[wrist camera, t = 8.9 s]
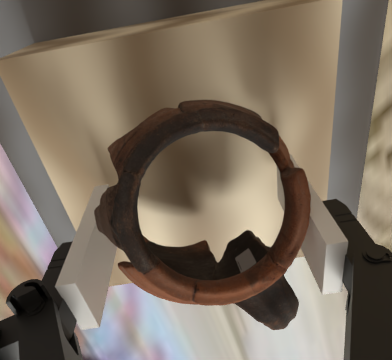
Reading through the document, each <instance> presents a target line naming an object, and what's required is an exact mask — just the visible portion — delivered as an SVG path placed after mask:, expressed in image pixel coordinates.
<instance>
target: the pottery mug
mask: <svg viewBox="0 0 392 360" xmlns="http://www.w3.org/2000/svg"><path fill="white" fill-rule="evenodd" d="M208 131H222V132H229V133H233V134H236V135H238V136H240V137H243V138H245V139H248V140H249V141H251V142H253V143H255V144H256V145H257V146H259V147H260V148H261V149H263V150H265V151H267V152H268V153H269V154H270V156H271V157H272V159H273V160H274V162H275V163H276V165H277V167H278V169H279V171H280V178H281V182H282V186H283V190H284V198H285V209H284V217H283V222H282V226H281V229H280V231H279V233H278V236H277V238H276V240H275V242H274V244H273V245H272V247H269V246H266V245H265V244H264V243H262V241H261V240H260V238H259V237H256V236H255V235H254V234H253V232H252V231H250V230H246V231H244V232H243V233H242V234H241V235H239V236H238V237H237V238H235V239H232V240H231V241H229V242H228V244H227V247H226V249H225V251H224V254H223V256H222V259H221V260H220V261H219V262H217V261H216V259H215V257H214V255H213V253H212V252H211V251H210V248H209V245H208V243H207V241H206V240H203V241H200V242H198V243H195V244H193V245H188V246H184V247H172V246H162V245H159V244H156V243H154V242H152V241H149V240H148V239H147V238H146V237H144V236H143V235H142V232H141V229H140V225H139V219H138V208H137V206H138V196H139V189H140V186H141V180H142V178H143V177H144V175H145V172H146V170H147V169H148V167H149V166H150V164H151V163H152V161H153V160H154V159H155V158H156V156H157V155H158V154H159V153H160V152H161V151H162V150H164V149H165V148H166V147H167V146H168V145H170V144H171V143H173V142H175V141H177V140H179V139H181V138H183V137H185V136H188V135H191V134H196V133H198V132H208ZM108 151H109V153H110V158H111V161H112V163H113V166H114V167H115V170H116V172H117V175H118V183H117V184H116V185H114V186H111V187H108V188H107V190H106V191H105V192H104V193H103V194H102V196H101V198H100V205H99V206H98V207H96V208H95V210H94V215H95V220H96V225H97V228H98V231H99V232H101V233H102V234H104V235H105V236H106V237H107V238H108V239H109V240H110V241H111V242H112V243H113V244H114V245H115V246H116V247H118V248H119V249H121V250H123V251H124V252H125V254H126V256H127V257H128V259H129V260H130V262H128V261H122V262H119V263H118V268H119V269H120V270H121V271H122V272H123V274H124V275H125V276H126V277H127V278H128V279H129V280H130V281H132V282H133V283H134V284H135V285H137V286H138V287H140V288H141V289H143V290H144V291H146V292H148V293H150V294H152V295H154V296H156V297H159V298H162V299H165V300H168V301H172V302H177V303H183V304H199V305H227V304H231V303H234V304H236V305H237V306H239V307H240V308H242V309H243V310H245V311H246V312H247V313H248V314H250V315H251V316H252V317H253V318H254V319H255V320H257V321H258V322H261V323H263V324H264V325H265V326H267V327H269V328H271V329H272V330H279V329H284V328H286V327H287V326H288V324H289V322H290V321H291V320H292V319H294V318H295V316H296V314H297V310H298V306H299V302H298V299H297V297H296V295H295V293H294V291H293V290H292V288H291V287H290V285H289V284H288V282H287V281H286V279H285V277H284V274H285V272H286V271H287V269H288V267H289V266H290V265H291V264H292V262H293V260H294V259H295V257H296V256H297V254H298V252H299V250H300V248H301V246H302V243H303V241H304V239H305V236H306V233H307V229H308V226H309V218H310V212H311V207H310V204H311V194H310V190H309V185H308V180H307V177H306V174H305V171H304V170H303V169H302V168H296V167H294V164H293V162H292V160H291V159H290V154H289V152H288V148H287V146H286V145H285V143H284V142H283V140H282V139H281V137H280V136H279V132H278V130H277V129H276V128H275V127H274V126H273V125H271V124H270V123H267V122H266V121H264V120H262V118H261V116H260V115H259V114H257V113H256V112H254V111H252V110H249V109H247V108H244V107H242V106H238V105H235V104H231V103H228V102H223V101H217V100H189V101H183V102H180V103H179V105H178V108H163V109H160V110H159V111H157V112H155V113H154V114H152V115H151V116H149V117H148V118H147V119H145V120H144V121H143V122H141V123H140V124H139V125H138V126H137V127H135V128H134V129H132V130H131V131H129V132H128V133H127V134H125V135H124V136H123V137H121V138H119V139H117V140H116V141H114V142H113V143H112V144H111V145H110V146H109V147H108Z"/></svg>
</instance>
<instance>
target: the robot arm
mask: <svg viewBox="0 0 392 360" xmlns="http://www.w3.org/2000/svg"><path fill="white" fill-rule="evenodd" d="M290 159H291V160H292V162H293V164H294V167H296V168H300V167H299V166H298V164H297V163H296V161H295V160H294V158H293V157H292V155H291V154H290ZM307 180H308V179H307ZM308 185H309V190H310V194H311V204H310V207H311V212H310V218H309V226H308V229H307V233H306V236H305V239H304V241H303V243H302V246H301V250H302V252H303V254H304V256H305V258H306V261H307V263H308V265H309V267H310V269H311V271H312V273H313V276H314V278H315V280H316V282H317V284H318V286H319V289H320V291H321V293H322V295H323V294H330V293H337V292H342V285H343V283H344V285H345V287H346V289H347V291H348V296H347V303H346V309H345V310H347V312H346V330H345V348H344V360H392V252H391V251H390V250H389V249H387V248H385V247H383V246H381V245H377V244H375V243H374V241H373V240H372V239H371V237H370V236H369V235H368V233H367V232H366V231H365V229H364V228H363V227H362V225H361V224H360V223H359V221H357V219H356V218H355V216H354V215H353V214H352V212H351V211H350V210H349V208H348V207H347V206H346V205H345V204H344V203H342V202H341V201H339V200H337V199H331V200H325V201H321V199H320V198H319V196H318V195H317V193H316V192H315V190H314V189H313V187H312V185H311V184H310V182H309V181H308ZM108 187H109V185H108V184H107V185H101V186H95V187H94V189H93V192H92V194H91V197H90V199H89V202H88V204H87V207H86V209H85V212H84V214H83V217H82V219H81V222H80V224H79V227H78V229H77V232H76V234H75V237H74V239H73V241H72V242H65V243H62V244H61V245H60V246H59V248H58V249H57V250H56V251H55V252H54V255H53V257H52V259H51V262H50V263H49V266H48V270H46V272H45V275H44V277H43V279H42V281H40V280H38V279H31V280H28V281H25V282H23V283H21V284H20V285H18V286H17V287H16V288H14V289H13V290H12V291H11V292H10V294H9V296H8V297H7V300H6V304H7V305H8V307H9V308H10V309H11V311H12V312H13V313H14V314H15V315H13V316H11V317H9V318H6V319H4V320H1V321H0V360H83V358H82V354H81V350H80V346H79V342H78V338H77V336H76V334H75V333H74V329H75V325H76V322H77V323H78V325H79V327H80V328H81V330H84V329H91V328H98V327H100V323H101V318H102V314H103V309H104V305H105V300H106V296H107V291H108V287H109V282H110V278H111V273H112V269H113V264H114V260H115V255H116V251H117V247H116V246H115V245H114V244H113V243H112V242H111V241H110V240H109V239H108V238H107V237H106V236H105V235H104V234H102V233H101V232H99V231H98V228H97V225H96V220H95V215H94V210H95V208H96V207H98V206H99V205H100V198H101V196H102V194H103V193H104V192H105V191H106V190H107V188H108ZM277 198H278V200H279V202H280V205H281V207H282V209H283V211H284V209H285V198H284V190H283V186H282V182H281V178H280V171H279V169H278V167H277Z"/></svg>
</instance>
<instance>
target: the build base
mask: <svg viewBox="0 0 392 360" xmlns="http://www.w3.org/2000/svg"><path fill="white" fill-rule="evenodd" d="M387 7H388V0H0V143H1V145H2V147H3V149H4V151H5V152H6V154H7V156H8V158H9V160H10V162H11V163H12V165H13V167H14V169H15V171H16V173H17V174H18V176H19V178H20V180H21V182H22V183H23V185H24V187H25V189H26V191H27V193H28V194H29V196H30V198H31V200H32V202H33V204H34V205H35V207H36V209H37V211H38V213H39V214H40V216H41V218H42V220H43V222H44V224H45V225H46V227H47V229H48V231H49V233H50V234H51V236H52V238H53V240H54V242H55V244H56V245H57V247H58V248H59V246H60V245H61V244H62V243H65V242H72V241H73V239H74V237H75V234H76V232H77V229H78V227H79V224H80V222H81V219H82V217H83V214H84V212H85V209H86V207H87V204H88V202H89V199H90V197H91V194H92V192H93V189H94V187H95V186H101V185H107V184H108V185H109V187H111V186H114V185H116V184H117V183H118V175H117V172H116V170H115V167H114V166H113V163H112V161H111V158H110V153H109V151H108V147H109V146H110V145H111V144H112V143H113V142H114V141H116V140H117V139H119V138H121V137H123V136H124V135H125V134H127V133H128V132H129V131H131V130H132V129H134V128H135V127H137V126H138V125H139V124H140V123H141V122H143V121H144V120H145V119H147V118H148V117H149V116H151V115H152V114H154V113H155V112H157V111H159V110H160V109H163V108H178V105H179V103H180V102H183V101H189V100H217V101H223V102H228V103H231V104H235V105H238V106H242V107H244V108H247V109H249V110H252V111H254V112H256V113H257V114H259V115H260V116H261V118H262V120H264V121H266V122H267V123H270V124H271V125H273V126H274V127H275V128H276V129H277V130H278V132H279V136H280V137H281V139H282V140H283V142H284V143H285V145H286V146H287V148H288V152H289V154H291V155H292V157H293V158H294V160H295V161H296V163H297V164H298V166H299V167H300V168H302V169H303V170H304V171H305V174H306V177H307V179H308V181H309V182H310V184H311V185H312V187H313V189H314V190H315V192H316V193H317V195H318V196H319V198H320V199H321V201H325V200H331V199H337V200H339V201H341V202H342V203H344V204H345V205H346V206H347V207H348V208H349V210H350V211H351V212H352V214H353V215H354V216H355V218H357V211H358V204H359V198H360V191H361V184H362V177H363V170H364V164H365V157H366V150H367V143H368V136H369V130H370V123H371V116H372V109H373V102H374V95H375V89H376V82H377V75H378V68H379V61H380V55H381V48H382V41H383V34H384V27H385V21H386V14H387ZM137 208H138V219H139V225H140V229H141V232H142V235H143V236H144V237H146V238H147V239H148V240H149V241H152V242H154V243H156V244H159V245H162V246H172V247H184V246H188V245H193V244H195V243H198V242H200V241H203V240H206V241H207V243H208V245H209V248H210V251H211V252H212V253H213V255H214V257H215V259H216V261H217V262H219V261H220V260H221V259H222V256H223V254H224V251H225V249H226V247H227V244H228V242H229V241H231V240H232V239H235V238H237V237H238V236H239V235H241V234H242V233H243V232H244V231H246V230H250V231H252V232H253V234H254V235H255V236H256V237H259V238H260V240H261V241H262V243H264V244H265V245H266V246H269V247H272V245H273V244H274V242H275V240H276V238H277V236H278V233H279V231H280V229H281V226H282V222H283V217H284V211H283V209H282V207H281V205H280V202H279V200H278V198H277V165H276V163H275V162H274V160H273V159H272V157H271V156H270V154H269V153H268V152H267V151H265V150H263V149H261V148H260V147H259V146H257V145H256V144H255V143H253V142H251V141H249V140H248V139H245V138H243V137H240V136H238V135H236V134H233V133H229V132H222V131H208V132H198V133H196V134H191V135H188V136H185V137H183V138H181V139H179V140H177V141H175V142H173V143H171V144H170V145H168V146H167V147H166V148H165V149H164V150H162V151H161V152H160V153H159V154H158V155H157V156H156V158H155V159H154V160H153V161H152V163H151V164H150V166H149V167H148V169H147V170H146V172H145V175H144V177H143V178H142V180H141V186H140V189H139V196H138V206H137ZM297 257H304V254H303V252H302V250H301V248H300V250H299V252H298V254H297V256H296V257H295V258H297ZM122 261H128V262H130V260H129V259H128V257H127V256H126V254H125V252H124V251H123V250H121V249H119V248H118V247H117V251H116V255H115V260H114V264H113V269H112V273H111V278H110V282H109V286H115V285H122V284H128V283H133V282H132V281H130V280H129V279H128V278H127V277H126V276H125V275H124V274H123V272H122V271H121V270H120V269H119V268H118V263H119V262H122Z"/></svg>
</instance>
